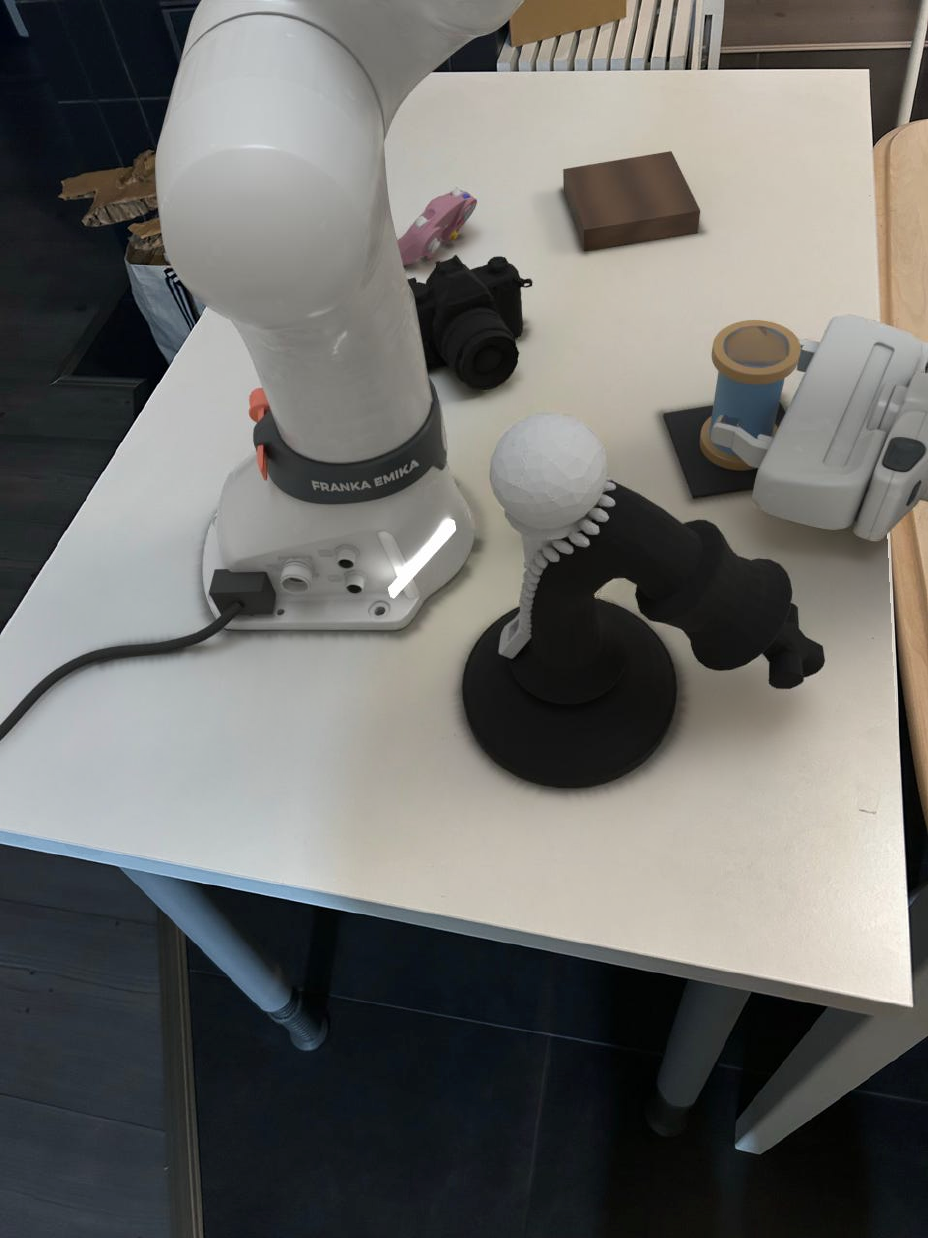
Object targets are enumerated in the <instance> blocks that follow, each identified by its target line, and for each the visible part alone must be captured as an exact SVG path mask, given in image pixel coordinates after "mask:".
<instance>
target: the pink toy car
mask: <svg viewBox="0 0 928 1238" xmlns="http://www.w3.org/2000/svg"><path fill="white" fill-rule="evenodd" d="M477 204H478V199H476V198H475V197H474V196H473V195H471V193H469V192H467V191H465V190H461V189H460V188H459V187H458V186H456V187H454V189H453V190H452V191H450V192H448V193H445V194H443V195H439V196H437V197H435V198H433V199H432V200H430V202H429V203H428V204H427V205H426V206H425V209H424V211H423V212H422V213H421V214H420V215H419V216H418V217H417V218H416V219H415V220H414V222H413V223H412V224H411V225H410V227H409V228H408V229H407V230H406V232H405V233H404V234H403V235H402V236H400V237H399V238H397V242H398V246H399V250H400V254H401V258H402V262H403V266H407V265H410V264H412V263H415V262H416V261H417V260H419V259H420V258H426V259H428V260H431V259H433V258H434V257H435V256H436V255H437V253H438V252H439V251H440V249H441V246H442V244H443V242H445V244H450V243H451V242H453V240H456V239H457V238H458V236H459V232H460V230H461V229H462V227H463V226H464V225H465V224H466V222H467V221H468V220H469V219H470V217H471V216H472V214H473V213H474V211H475V210H476V206H477Z"/></svg>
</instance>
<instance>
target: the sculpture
mask: <svg viewBox="0 0 928 1238" xmlns="http://www.w3.org/2000/svg"><path fill="white" fill-rule="evenodd" d="M489 481H490V485H491V489H492V492H493V494H494V496H495V498H496V500H497V502H498V503H499V505H500V506H501V507H502V509H503V512H504V517H505V519H506V520H507V522H508V523H509V525H510V526H511V527H512V528H513V529H514V530H516V532H518V533H519V534H520V536H521V543H522V549H523V555H524V562H523V567H524V568H525V571H524V572H523V574H522V575H523V576H522V577H523V582H522V585H521V589H520V594H519V599H518V600H519V604H518V605H519V606H517V607H515V608H512V609H510V610H509V611H508V612H506V613H505V614H503V615H501V616H500V617H499V618H497V620H495V621H494V622H492V623H491V625H489V626H488V627H487V628H486V629H485V630H484V631H483V632H482V634H481V635H480V636H479V638H478V639H477V640H476V642H475V643H474V645H473V647H472V649H471V650H470V652H469V655H468V657H467V660H466V662H465V666H464V670H463V674H462V684H461V694H462V702H463V707H464V711H465V717H466V721H467V723H468V726H469V728H470V731H471V732H472V734H473V736H474V738H475V740H476V742H477V743H478V744H479V746H480V747H481V748H482V750H483V751H484V752H485V753H486V754H487V755H488V756H489V757H490V759H492V760H493V761H494V762H495V763H496V764H498V765H499V766H501V767H502V768H503V769H504V770H506V771H508V772H510V773H511V774H513V775H514V776H516V777H518V778H521V779H523V780H525V781H528V782H530V783H534V784H537V785H541V786H546V787H550V788H551V787H552V788H558V789H576V788H577V789H579V788H588V787H593V786H598V785H603V784H607V783H609V782H611V781H614V780H616V779H620V778H621V777H623V776H625V775H627V774H628V773H630V772H632V771H634V770H635V769H636V768H638V767H639V766H641V765H642V764H644V762H645V761H647V760H648V759H649V758H650V757H651V756H652V755H654V753H655V752H656V750H657V749H658V748H659V746H660V745H661V744H662V742H663V740H664V739H665V738H666V735H667V734H668V732H669V729H670V727H671V724H672V722H673V718H674V715H675V710H676V704H677V696H678V681H677V680H678V679H677V673H676V669H675V665H674V661H673V659H672V657H671V654H670V651H668V649H667V646H666V645H665V643H664V641H663V640H662V638H660V636H659V635H658V634H657V633H656V631H655V630H654V629H653V628H652V627H651V626H650V625H649V624H648V623H647V622H646V621H644V620H643V619H642V618H641V617H640V616H638V615H636V614H635V613H633V612H632V611H630V610H628V609H626V608H624V607H622V606H620V605H618V604H616V603H614V602H610V601H608V600H604V599H601V598H596V595H595V594H596V593H597V592H598V591H600V590H601V589H602V588H603V587H604V586H605V585H606V584H608V583H610V582H611V581H612V580H615V579H624V580H627V581H628V582H630V583H632V584H633V585H636V586H635V593H634V596H635V600H636V603H637V607H638V611H639V613H640V614H641V615H642V616H644V618H646V619H647V620H648V621H649V622H654V623H659V624H663V625H668V626H671V627H674V628H677V629H680V630H681V631H683V633H684V634H685V636H686V637H687V638H688V639H689V643H690V648H691V651H692V654H693V656H694V657H695V659H696V661H697V662H698V663H699V664H701V665H702V666H703V667H705V668H706V669H709V670H712V671H715V672H725V671H734V670H736V669H738V668H741V667H744V666H746V665H748V664H750V663H751V662H752V661H754V660H755V659H758V658H759V657H760V656H761V655H762V656H763V657H764V658H765V659H766V661H767V662H768V684H769V685H770V687H772V688H775V689H777V690H792V689H794V688H796V687H798V686H800V685H801V684H803V683H804V682H805V681H804V680H805V678H809V677H811V676H813V675H815V674H817V673H818V672H820V671H821V670H822V669H823V667H824V666H825V662H826V657H825V650H824V646H823V644H821V643H819V642H817V641H815V640H814V639H812V638H809V637H808V636H806V634H805V633H804V632H803V631H802V630H801V629H800V622H799V621H800V617H799V607H798V606H797V604H795V603H793V602H792V600H793V599H792V598H793V588H792V587H793V586H792V581H791V578H790V576H789V574H788V571H787V570H786V569H785V568H784V567H783V566H782V565H781V563H779V562H777V561H774V560H773V559H771V558H763V557H762V558H761V557H758V558H757V557H756V558H751V559H749V558H747V557H743V556H740V555H738V554H737V553H736V552H734V550H733V549H732V548H731V546H730V544H729V542H728V541H727V539H726V537H725V535H724V534H723V532H722V531H721V530H720V528H719V527H718V526H717V525H716V524H715V523H713V522H711V521H709V520H708V519H700V518H699V519H694V520H689V521H686V522H681V521H680V520H679V519H678V518H676V517H675V516H674V515H672V514H671V513H669V512H668V511H667V510H666V509H664V508H663V507H661V506H659V505H658V504H657V503H655V502H653V501H652V500H650V499H649V498H646V497H645V496H644V495H642V494H640V493H639V492H638V491H635V490H633V489H630V488H629V487H627V486H625V485H623V484H621V483H618V482H616V481H614V480H613V479H612V478H611V476H610V475H609V474H608V459H607V456H606V452H605V448H604V446H603V444H602V443H601V441H600V439H599V438H598V436H597V435H596V434H595V433H594V431H593V430H592V429H591V428H590V427H589V426H588V425H586V424H585V423H583V422H582V421H581V420H579V419H578V418H575V417H573V416H570V415H567V414H565V413H555V412H544V413H540V414H535V415H530V416H525V418H522V419H521V420H519V421H517V422H516V423H514V424H513V425H512V426H510V427H509V428H508V429H507V430H506V431H505V432H504V433H503V434H502V436H501V437H500V439H498V441H497V443H496V445H495V447H494V450H493V452H492V455H491V457H490V467H489Z"/></svg>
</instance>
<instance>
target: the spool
mask: <svg viewBox="0 0 928 1238" xmlns="http://www.w3.org/2000/svg"><path fill="white" fill-rule="evenodd" d="M799 340H800V339H799V338H798V337H797V335H796V334H795V333H794V332H793V331H792V330H790V329H789V328H787V327H785V326H783V325H781V324H779V323H776V322H773V321H769V320H762V319H749V320H741V321H737V322H734V323H732V324H729V325H727V326H725V327H724V328H722V329H721V330H720V331H719V332H718V333H717V334H716V336H715V337H714V339H713V342H712V349H711V361H712V364H713V366H714V367H715V369H716V370H717V378H716V385H715V392H714V398H713V404H712V405H713V411H712V416H711V417H710V418H708V419H707V420H706V422H705V423H704V424H703V426H702V429H701V434H700V447H701V450H702V452H703V454H704V455H705V456H706V457H707V458H708V459H709V460H710V461H711V462H713V463H714V464H716V465H718V466H720V467H723V468H726V469H730V470H739V471H744V470H752V469H756V468H755V467H752V466H749V465H748V464H746V463H745V462H744V461H743V460H742V459H741V458H740V457H739V456H738V455H737V454H736V453H735V452H733V451H732V449H731V448H728V447H724V446H721V445H717V444H714V443H712V441H711V440H710V437H711V431H712V428H713V426H714V424H715V422H716V420H717V418H718V417H719V416H720V415H726V416H728V417H729V418H731V417H734V418H738V419H741V423H740V428H742V429H743V430H744V431H746V432H747V433H748V434H750V435H751V436H753V437H754V438H755V439H757V437H758V435H760V434H762V435H766V436H770V437H773V438H774V436H775V434H776V432H777V430H778V427H777V426H776V424H775V420H776V415H777V411H778V406H779V402H781V397H782V394H783V393H782V392H783V388H784V383H785V379H786V378H787V377H789V376H790V375H791V374H792V373H793V372H794V371H795V370H796V369H797V365H798V361H799V357H800V353H801V346H800V342H799Z"/></svg>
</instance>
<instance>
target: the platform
mask: <svg viewBox="0 0 928 1238" xmlns="http://www.w3.org/2000/svg"><path fill="white" fill-rule="evenodd" d="M562 179H563V182H562V183H563V193H564V195H565V196H564V197H565V199H566V202H567V205H568V208H569V210H570V215H571V216H572V219H573V224H574V225H575V228H576V232H577V234H578V237H579V240H580V243H581V246H582V249H583V252H589V251H594V250H600V249H606V248H613V247H619V246H625V245H630V244H636V243H642V242H643V243H644V242H648V241H655V240H661V239H668V238H673V237H679V236H686V235H692V234H698V233H699V228H700V217H701V209H700V207H699V204H698V202H697V201H696V198H695V197H694V194H693V192H692V190H691V188H690V186H689V184H688V182H687V180H686V178H685V175H684V174H683V172H682V170H681V168H680V165H679V163H678V161H677V159H676V158H675V155H674V153H673V152H672V150H669V151H664V152H657V153H650V154H646V155H639V156H634V157H628V158H621V159H615V160H609V161H603V162H598V163H591V164H585V165H580V166H574V167H573V166H572V167H566V168H563V169H562Z"/></svg>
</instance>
